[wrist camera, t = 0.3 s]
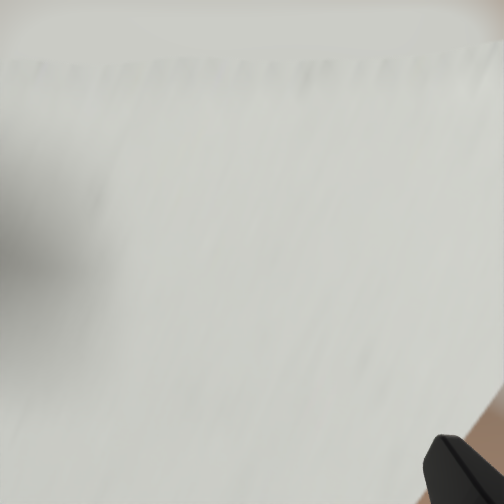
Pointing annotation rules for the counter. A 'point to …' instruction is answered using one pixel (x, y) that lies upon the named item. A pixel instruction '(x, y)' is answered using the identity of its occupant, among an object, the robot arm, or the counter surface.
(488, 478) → the robot arm
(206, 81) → the counter surface
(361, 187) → the counter surface
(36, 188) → the counter surface
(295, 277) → the counter surface
